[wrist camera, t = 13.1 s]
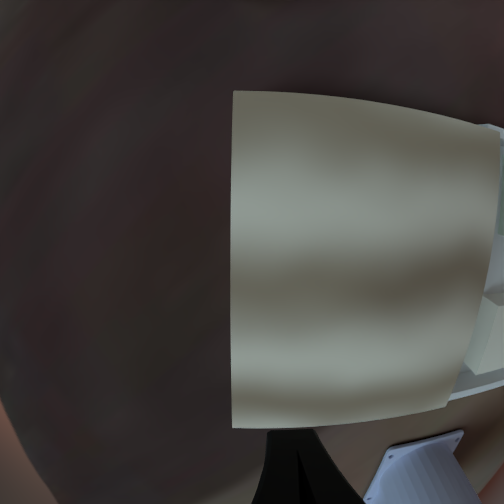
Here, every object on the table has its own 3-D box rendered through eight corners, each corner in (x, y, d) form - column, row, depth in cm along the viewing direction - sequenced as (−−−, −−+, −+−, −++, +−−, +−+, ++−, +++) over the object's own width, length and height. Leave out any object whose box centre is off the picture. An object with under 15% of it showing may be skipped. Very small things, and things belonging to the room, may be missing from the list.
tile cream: (475, 375, 16) (461, 360, 18) (519, 362, 16) (505, 350, 18) (498, 306, 15) (480, 294, 17) (540, 300, 15) (523, 290, 17)
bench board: (423, 376, 19) (445, 406, 16) (234, 389, 19) (232, 427, 15) (462, 134, 15) (500, 132, 11) (236, 107, 15) (233, 90, 11)
